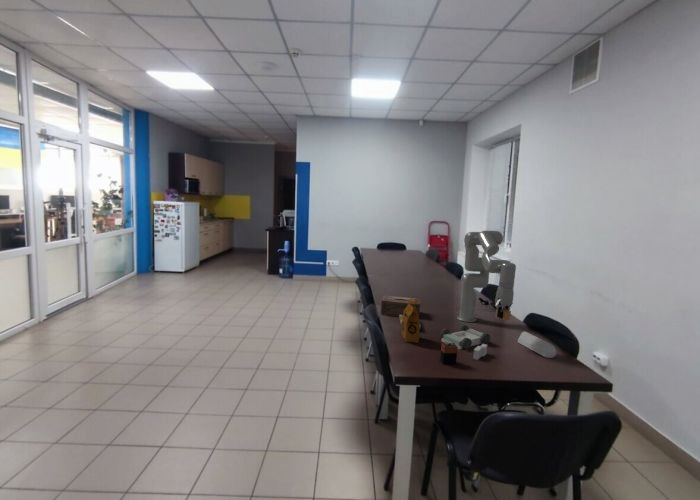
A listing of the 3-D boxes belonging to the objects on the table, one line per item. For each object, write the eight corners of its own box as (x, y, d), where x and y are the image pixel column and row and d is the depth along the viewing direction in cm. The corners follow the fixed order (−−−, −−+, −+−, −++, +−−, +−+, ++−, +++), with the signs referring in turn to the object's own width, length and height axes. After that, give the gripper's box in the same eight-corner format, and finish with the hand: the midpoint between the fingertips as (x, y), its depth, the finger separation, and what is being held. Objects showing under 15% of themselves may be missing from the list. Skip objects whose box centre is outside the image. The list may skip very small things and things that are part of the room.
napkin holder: (475, 362, 187) (476, 352, 186) (462, 353, 198) (463, 343, 197) (500, 360, 191) (501, 349, 190) (486, 351, 202) (487, 341, 201)
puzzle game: (401, 323, 227) (399, 313, 246) (400, 330, 227) (398, 320, 247) (420, 324, 226) (417, 314, 246) (420, 332, 226) (416, 321, 246)
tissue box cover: (418, 312, 266) (419, 298, 265) (419, 318, 252) (420, 304, 251) (382, 308, 270) (383, 295, 269) (380, 314, 256) (381, 300, 255)
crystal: (513, 335, 216) (545, 352, 193) (522, 329, 217) (555, 345, 195) (517, 345, 218) (549, 363, 195) (526, 339, 219) (559, 356, 197)
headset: (489, 316, 293) (514, 309, 267) (474, 308, 292) (498, 300, 266) (494, 296, 301) (519, 287, 275) (480, 288, 300) (503, 278, 273)
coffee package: (402, 342, 208) (405, 304, 204) (400, 334, 220) (402, 298, 217) (420, 343, 207) (423, 305, 204) (417, 335, 219) (420, 299, 216)
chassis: (466, 333, 227) (467, 323, 226) (490, 343, 213) (491, 332, 212) (438, 339, 214) (439, 329, 213) (462, 350, 200) (463, 340, 199)
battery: (439, 360, 187) (441, 341, 185) (452, 360, 187) (454, 341, 186) (443, 364, 182) (444, 344, 181) (456, 364, 183) (458, 344, 182)
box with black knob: (495, 317, 210) (496, 307, 209) (500, 316, 212) (501, 306, 211) (504, 320, 205) (506, 310, 204) (509, 319, 207) (511, 309, 207)
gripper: (509, 282, 214) (505, 313, 216) (490, 285, 204) (487, 317, 207) (521, 285, 207) (517, 317, 210) (502, 288, 198) (499, 321, 201)
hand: (502, 316), depth 209 cm, fingers closed on box with black knob, 4 cm apart
